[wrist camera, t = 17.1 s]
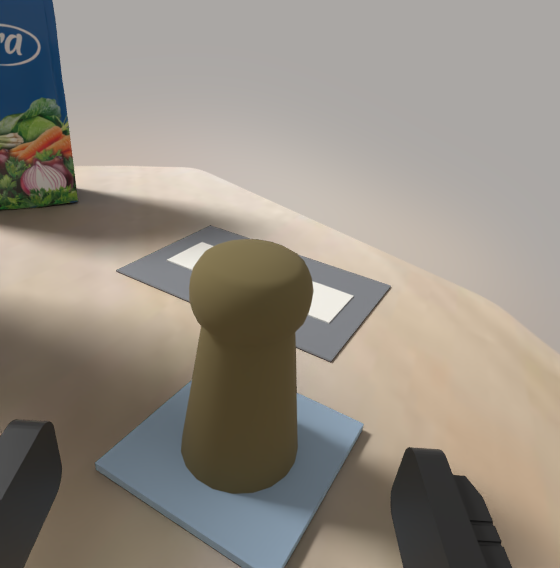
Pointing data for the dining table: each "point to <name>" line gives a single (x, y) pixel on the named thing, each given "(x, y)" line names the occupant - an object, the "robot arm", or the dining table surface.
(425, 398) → the dining table surface
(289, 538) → the pad
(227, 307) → the cork
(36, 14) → the blue food package
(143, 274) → the label mat
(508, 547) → the dining table surface
